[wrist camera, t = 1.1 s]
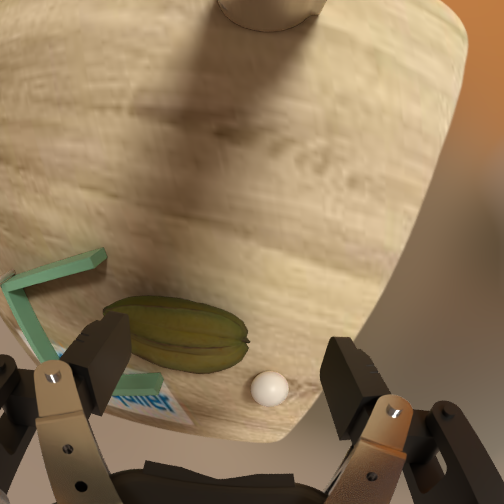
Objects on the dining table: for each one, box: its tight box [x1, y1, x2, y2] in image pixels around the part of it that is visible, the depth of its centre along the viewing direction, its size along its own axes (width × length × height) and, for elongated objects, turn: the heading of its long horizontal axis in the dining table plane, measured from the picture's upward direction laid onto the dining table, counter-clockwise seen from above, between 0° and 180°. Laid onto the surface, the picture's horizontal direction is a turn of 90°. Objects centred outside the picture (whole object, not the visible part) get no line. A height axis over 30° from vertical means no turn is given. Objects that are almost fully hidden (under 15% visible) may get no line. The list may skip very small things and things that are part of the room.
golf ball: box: [251, 371, 289, 407], centre depth 31 cm, size 4×4×4 cm
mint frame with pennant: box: [0, 247, 164, 396], centre depth 22 cm, size 18×19×20 cm
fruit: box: [103, 296, 250, 374], centre depth 27 cm, size 11×12×7 cm
